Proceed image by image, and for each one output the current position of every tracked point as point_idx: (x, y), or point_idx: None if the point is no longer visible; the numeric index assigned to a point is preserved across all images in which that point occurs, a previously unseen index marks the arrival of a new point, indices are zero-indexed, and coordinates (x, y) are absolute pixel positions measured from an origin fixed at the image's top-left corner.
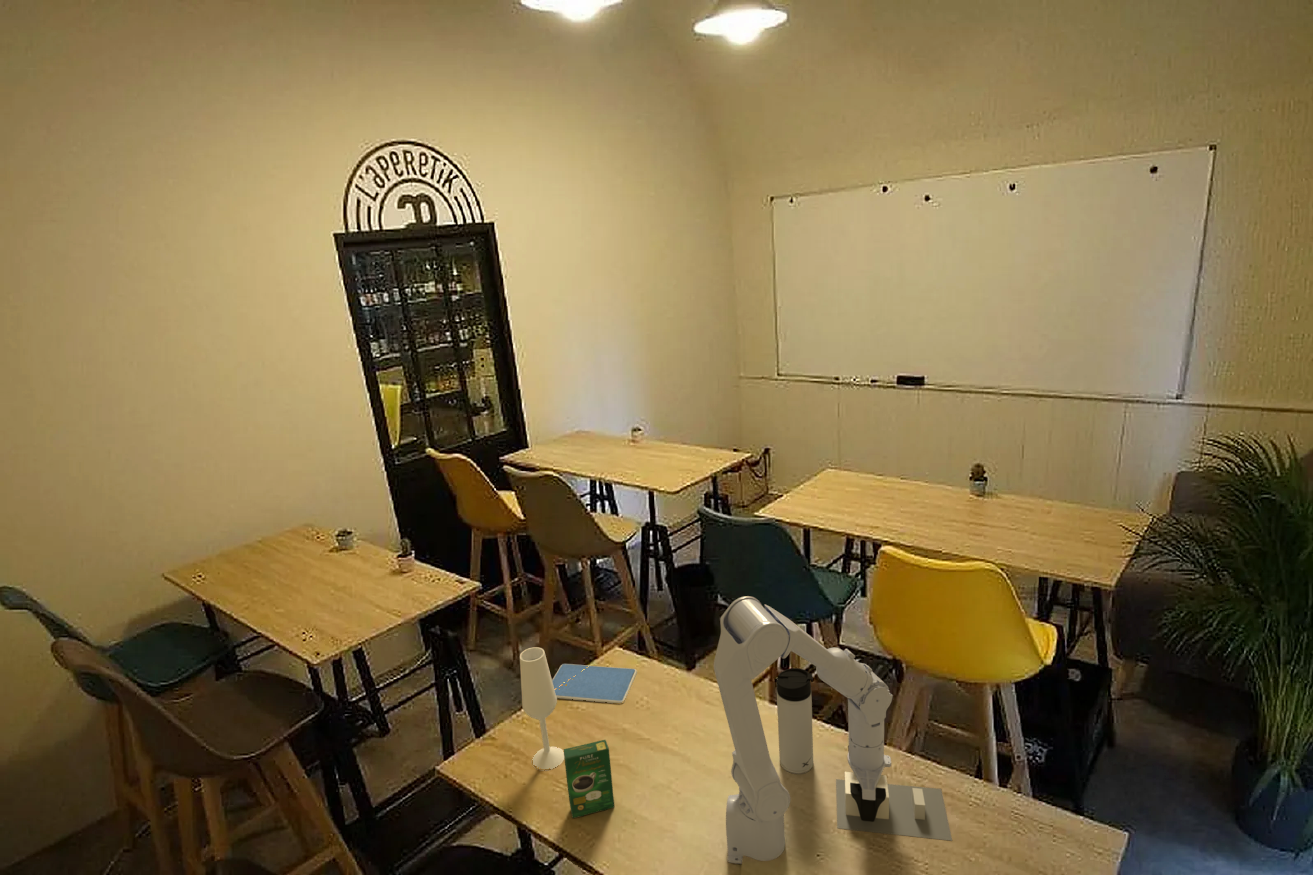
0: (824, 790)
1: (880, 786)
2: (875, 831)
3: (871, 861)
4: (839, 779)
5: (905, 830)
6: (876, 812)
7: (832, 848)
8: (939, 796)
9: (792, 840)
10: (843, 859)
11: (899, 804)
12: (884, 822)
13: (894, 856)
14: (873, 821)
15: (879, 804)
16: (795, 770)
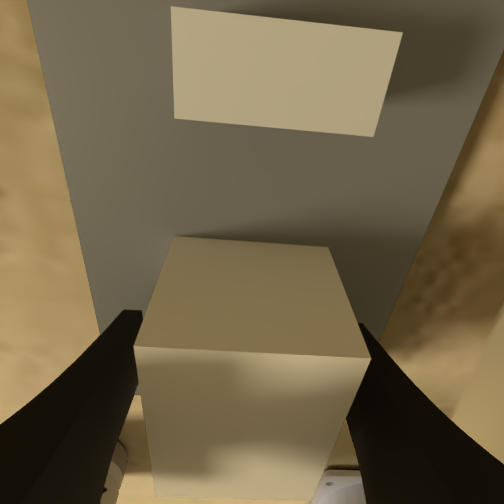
0: None
1: (258, 388)
2: (391, 307)
3: (488, 313)
4: None
5: (413, 181)
6: (403, 372)
7: None
8: None
9: (357, 460)
10: (451, 378)
11: (224, 178)
12: (345, 267)
13: (497, 236)
14: (365, 327)
15: (487, 456)
16: (117, 483)
